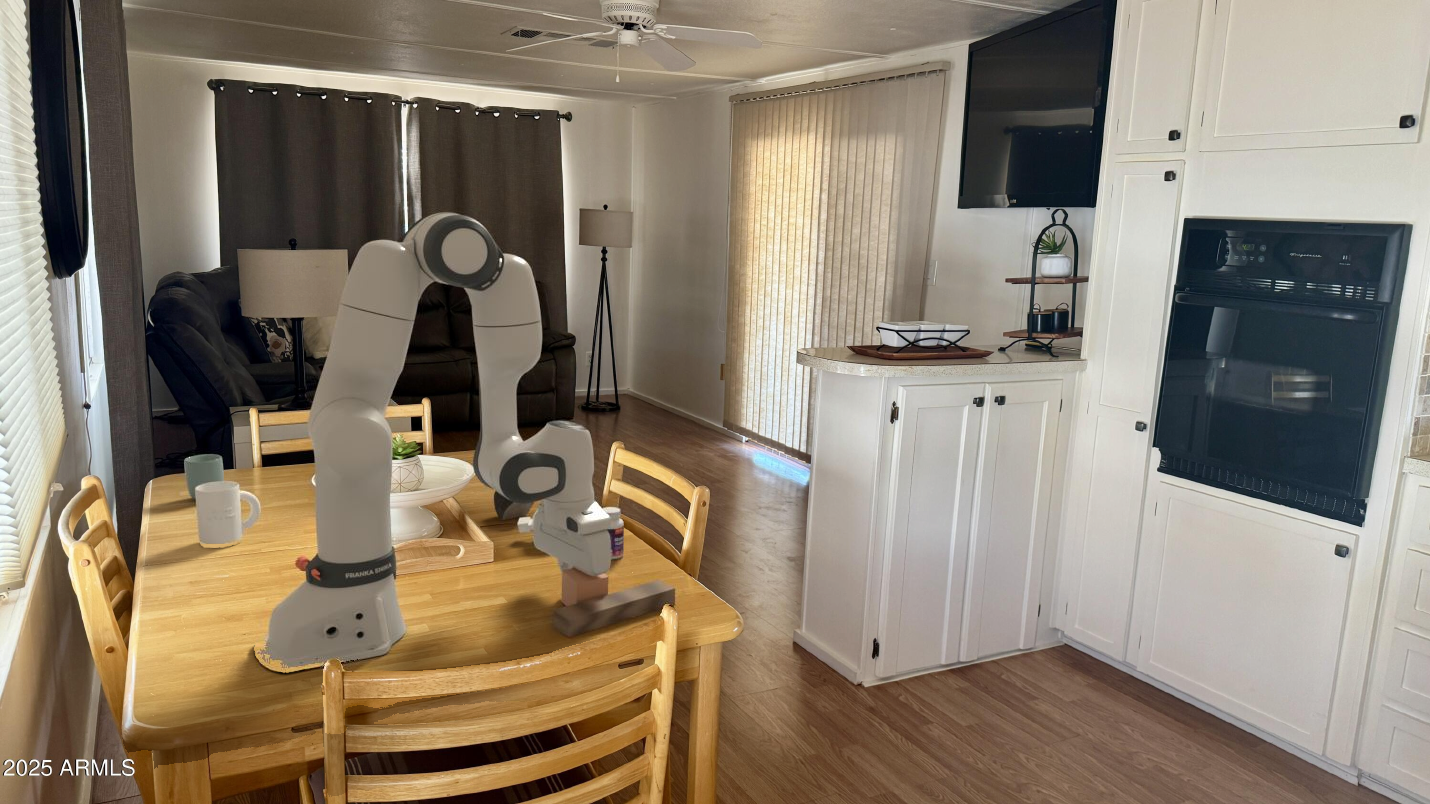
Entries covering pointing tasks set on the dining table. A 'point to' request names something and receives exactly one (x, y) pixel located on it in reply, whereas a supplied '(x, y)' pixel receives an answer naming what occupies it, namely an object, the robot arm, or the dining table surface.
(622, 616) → the board
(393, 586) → the robot arm
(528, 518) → the perfume bottle
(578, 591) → the block
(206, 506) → the mug
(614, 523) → the pill bottle
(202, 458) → the cup
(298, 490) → the dining table surface
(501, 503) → the stone
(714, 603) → the dining table surface
